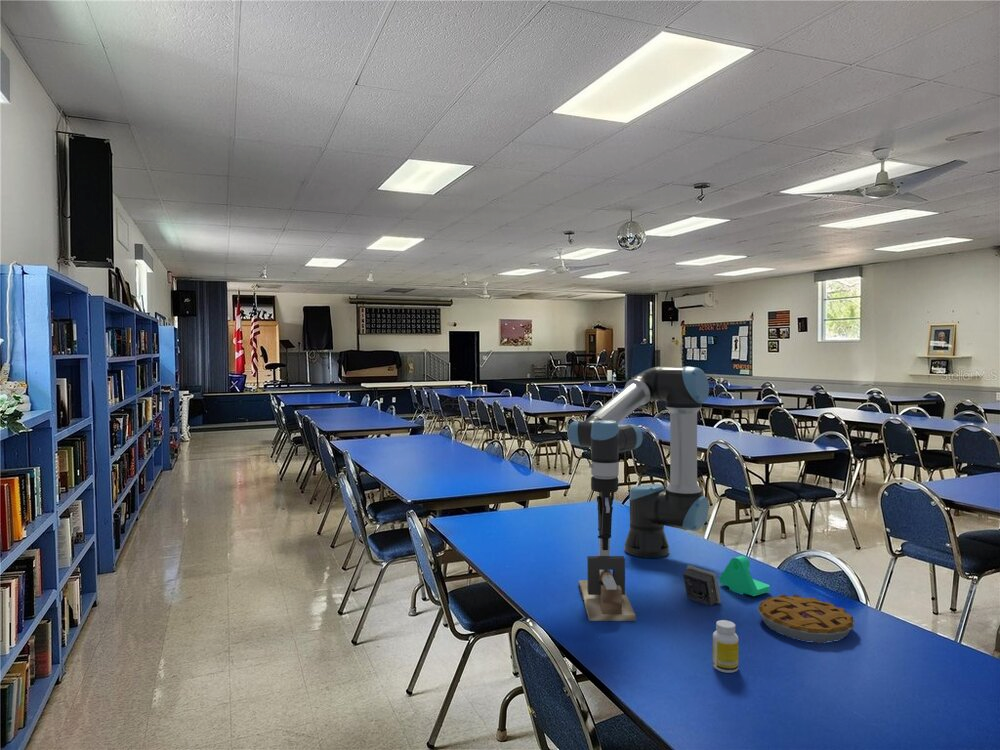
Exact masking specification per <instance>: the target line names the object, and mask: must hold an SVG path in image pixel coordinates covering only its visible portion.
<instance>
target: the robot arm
mask: <svg viewBox="0 0 1000 750" xmlns="http://www.w3.org/2000/svg"><path fill="white" fill-rule="evenodd" d="M709 394H710V385H709V380H708V377H707V375H706V373H705V372H704V370H702V369H701V368H699V367H695V366H687V365H686V366H655V367H654V366H653V367H651V368H648V369H646V370H643V371H642V372H639V373H638V374H636V375H635V376H633V377H632V378H631V379H629V380H628V381H627V382H626V383H625V385H624V388H623V389H622V390H620V391H619V392H618V393H617V394H615V395H614V396H612V398H610V399H609V400H608V401H607V402H606V403H604V404H603V405H602V406H601V407H599V408H598V409H596V410H595V412H593V413H592V414H591V415H590V416H589V417H588V418H586V419H585V420H584V421H582V420H574V421H572V422H570V424H569V426H568V427H567V434H566V435H567V439H568V442H569V443H570V444H572V445H573V446H578V447H581V448H582V447H585V448H591V449H590V450H591V451H590V452H591V454H590V455H591V461H590V462H591V464H589V465H588V467H589V468H590V473H591V474H590V475H591V476H592V477H590V490H591V491H593V492H597V493H598V495H597V496H596V502H597V526H598V527H597V531H598V535H597V539H598V540H599V543H598V546H599V548H598V549H599V550H598V552H599V553H598V554H599V556H611V552H610V550H611V540H610V539H612V519H613V510H614V508H613V502H614V499H613V497H612V496H611V493H615V492H618V491H619V477H618V476H619V473H620V471H619V470H620V469H619V462H620V461H619V454H620V453H623V452H628V451H629V452H630V451H634V450H637V449H638V448H639V447H640V446H641V445H642V443H643V439H644V436H643V433H642V429H640V427H639V426H638V425H636V424H633V423H629V424H628V423H624V424H620V423H621V422H622V421H623V420H624V419H626V418H627V417H628V416H629V415H630V414H631V413H633V412H634V410H636V409H637V408H638V407H640V406H644V405H646V404H648V403H649V402H653V401H661V402H662V401H663V402H664V401H665V409H666V410H667V411H668V412H669V416H670V417H669V422H670V423H669V425H670V427H669V429H670V430H669V431H670V433H669V435H670V436H669V439H670V440H669V441H670V442H669V443H670V444H669V447H670V450H669V451H670V453H669V454H670V455H669V457H670V458H669V459H670V462H669V463H670V465H669V466H670V467H669V471H670V474H669V477H670V480H669V481H670V482H669V484H668V485H667V486H666V487H665V486H664V485H663V484H658V483H656V484H655V483H654V484H653V483H651V484H650V483H649V484H648V483H647V484H641V485H636V486H633V487H631V489H630V491H629V499H628V501H629V529H628V533H627V535H626V538H625V542H624V551H625V553H627V554H628V555H631V556H635V557H638V558H643V559H645V558H646V559H648V558H649V559H654V558H656V559H657V558H663V557H666V556H669V554H670V545H669V542H668V538H667V536H666V532H665V527H671V528H675V529H680V530H683V531H691V532H697V531H699V530H700V529H702V528H703V526H704V525H705V524H706V521H707V519H708V516H709V511H710V502H709V499H708V498H707V497H706V496H704V495H703V493H702V492H703V490H702V488H701V486H699V485H698V412H699V411H700V410H701V409H703V403H706V402H707V401H708V399H709Z"/></svg>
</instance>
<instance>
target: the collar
mask: <svg viewBox="0 0 1000 750" xmlns="http://www.w3.org/2000/svg"><path fill="white" fill-rule="evenodd" d="M586 557H587V561H586V562H587V563H586V564H587V580H588V595H601V585H604V584H603V582H602V581H600V576H599V570H610V571H611V570H612V575H613V577H614V581H615V583H616V585H620V587H621V589H622V595H625V593H626V557H625V556H624V555H610V556H596V555H587V556H586Z"/></svg>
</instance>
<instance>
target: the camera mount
mask: <svg viewBox="0 0 1000 750" xmlns="http://www.w3.org/2000/svg"><path fill="white" fill-rule="evenodd" d="M750 569H751V563H750V560H749V558H747V557H746V556H744V555H739V556H736V557H732V558H731V559H730V560H729V562H728V563H727V565H726V567H725V568H724V570H723V572H722V573H721V575H720V576H719V579H718V580H719V581H718V584H721V585H723V586H725V587H728V588H729V589H730V590H729V589H728V590H729V591H731V590H732V592H733V591H735V592H734V593H736V592H738V593H741V594H746V595H750V596H752V597H755V596H759V595H762V594H766V593H769V592H770V590H771V589H770V587H771V586H770V584H768V583H765V582H763V581H760V580H757V579H754V578H753V577H752V575H751V573H750V572H751V571H750ZM738 593H737V594H738ZM741 594H740V595H741Z"/></svg>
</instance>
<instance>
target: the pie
mask: <svg viewBox="0 0 1000 750" xmlns="http://www.w3.org/2000/svg"><path fill="white" fill-rule="evenodd" d="M756 610H757V612H758V613H759V615H760V616H761V619H762V621H763V622H764V624H765V626H766V627H767V626H768V627H767V628H769V627H770V628H769V629H771V628H772V629H773V630H772V629H771V630H772V631H774V630H775V631H776V632H775V631H774V632H775V633H777V632H779V633H782V634H784V635H786V636H789V637H791V638H795V639H800V640H804V641H813V642H827V641H834V640H839V639H841V638H843V637H845V636H846V637H847V636H848V635H849V633H850V631H851V630H853V629H854V627H855V624H856V621H855V620H854V617H853V616H852V614H850V613H847V611H846V609H845V608H843V607H837V606H835V605H834V604H833V603H830V602H829V601H828V602H827V601H821V600H818V598H816V597H804V596H802V595H798V594H793V595H792V596H789V595H787V594H779V595H778V596H776V597H775V596H768V597H766V600H763V599H762V600H761V601H760V604H759V605H758V606H757V608H756ZM779 633H778V634H779ZM784 635H783V636H784ZM786 636H785V637H786ZM789 637H788V638H789ZM791 638H790V639H791ZM839 641H840V640H839Z"/></svg>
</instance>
